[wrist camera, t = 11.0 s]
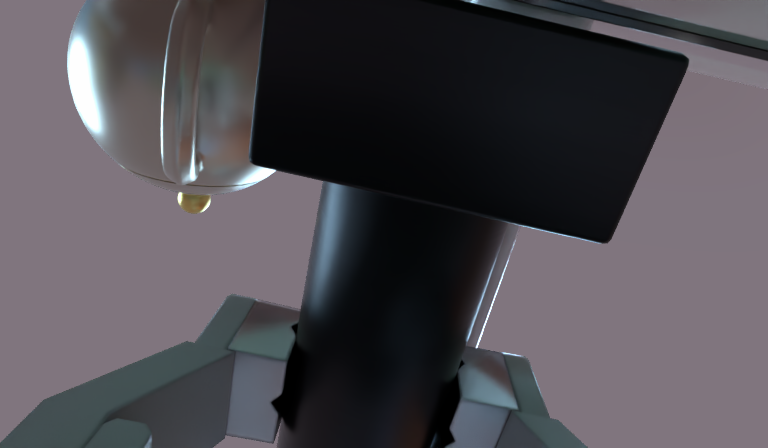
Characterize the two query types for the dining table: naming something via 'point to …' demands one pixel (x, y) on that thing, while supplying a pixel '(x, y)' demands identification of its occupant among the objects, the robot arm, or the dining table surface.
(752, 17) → the tap
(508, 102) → the tap lever
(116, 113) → the teapot
